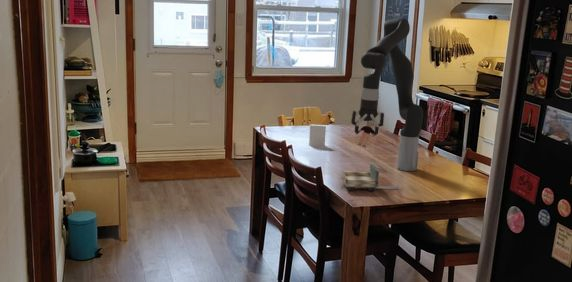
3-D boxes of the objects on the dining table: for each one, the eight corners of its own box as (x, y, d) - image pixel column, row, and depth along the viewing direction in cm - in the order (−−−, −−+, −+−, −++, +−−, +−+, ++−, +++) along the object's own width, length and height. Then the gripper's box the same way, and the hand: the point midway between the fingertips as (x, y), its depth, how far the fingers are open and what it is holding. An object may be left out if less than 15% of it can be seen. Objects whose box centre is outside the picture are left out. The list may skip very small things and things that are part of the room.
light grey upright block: (324, 144, 340) (326, 124, 337) (324, 148, 331) (325, 127, 329) (309, 143, 341) (310, 123, 338) (308, 147, 332) (309, 126, 329)
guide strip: (397, 187, 264) (397, 186, 264) (398, 189, 261) (399, 188, 261) (340, 185, 263) (340, 185, 263) (340, 187, 260) (341, 187, 260)
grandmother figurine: (356, 145, 260) (365, 117, 258) (353, 143, 263) (362, 116, 261) (371, 149, 262) (380, 122, 260) (368, 147, 266) (377, 120, 264)
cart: (371, 183, 269) (373, 163, 266) (377, 192, 256) (378, 171, 254) (341, 182, 268) (342, 162, 266) (345, 191, 255) (346, 170, 253)
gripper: (384, 98, 262) (380, 133, 266) (352, 96, 262) (349, 131, 265) (387, 100, 255) (383, 137, 259) (354, 98, 255) (351, 135, 258)
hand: (366, 134), depth 262 cm, fingers closed on grandmother figurine, 7 cm apart
